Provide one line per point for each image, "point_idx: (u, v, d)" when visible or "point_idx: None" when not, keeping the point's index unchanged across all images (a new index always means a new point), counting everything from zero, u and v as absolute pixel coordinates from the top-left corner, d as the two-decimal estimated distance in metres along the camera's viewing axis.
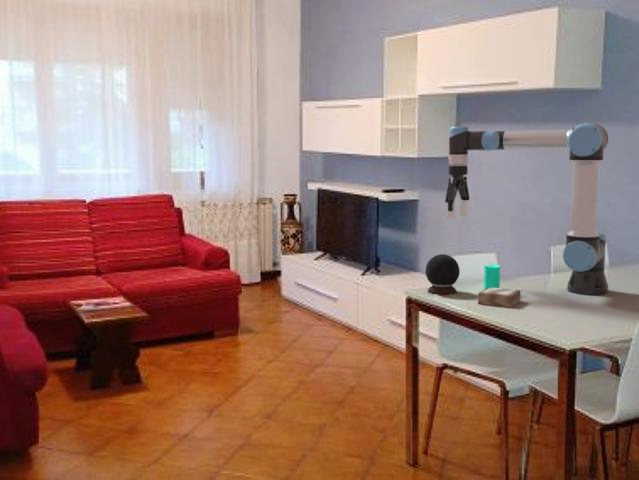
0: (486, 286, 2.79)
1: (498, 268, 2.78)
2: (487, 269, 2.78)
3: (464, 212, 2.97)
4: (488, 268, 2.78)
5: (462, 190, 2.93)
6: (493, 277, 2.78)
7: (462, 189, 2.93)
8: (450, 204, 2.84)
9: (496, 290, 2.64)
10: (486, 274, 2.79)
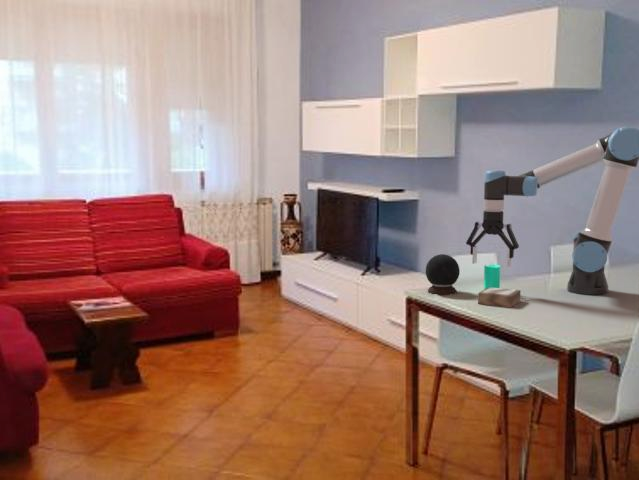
0: (486, 286, 2.79)
1: (498, 268, 2.78)
2: (487, 269, 2.78)
3: None
4: (488, 268, 2.78)
5: None
6: (493, 277, 2.78)
7: None
8: None
9: (496, 290, 2.64)
10: (486, 274, 2.79)
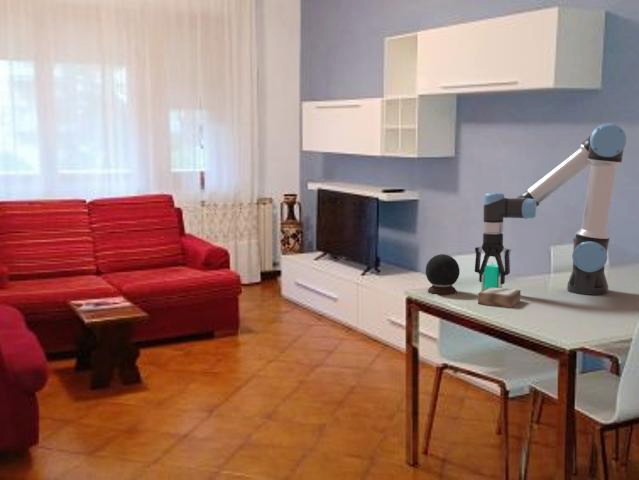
0: (486, 286, 2.79)
1: (498, 268, 2.78)
2: (487, 269, 2.78)
3: None
4: (488, 268, 2.78)
5: None
6: (493, 277, 2.78)
7: None
8: None
9: (496, 290, 2.64)
10: (486, 274, 2.79)
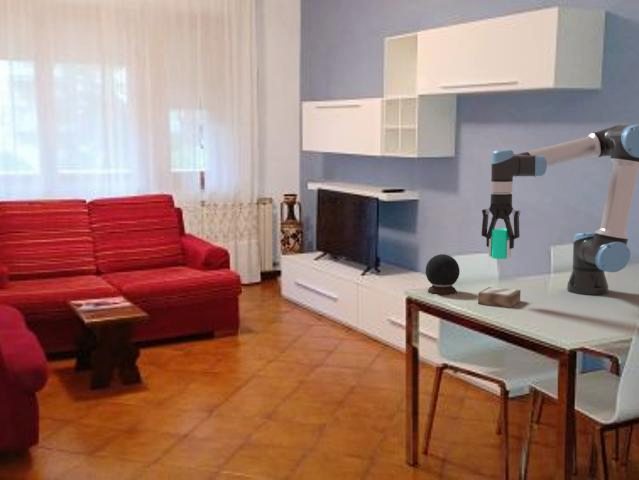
0: (494, 251, 2.60)
1: None
2: (495, 232, 2.59)
3: None
4: (496, 231, 2.58)
5: None
6: (501, 241, 2.58)
7: None
8: None
9: (496, 290, 2.64)
10: (494, 238, 2.60)
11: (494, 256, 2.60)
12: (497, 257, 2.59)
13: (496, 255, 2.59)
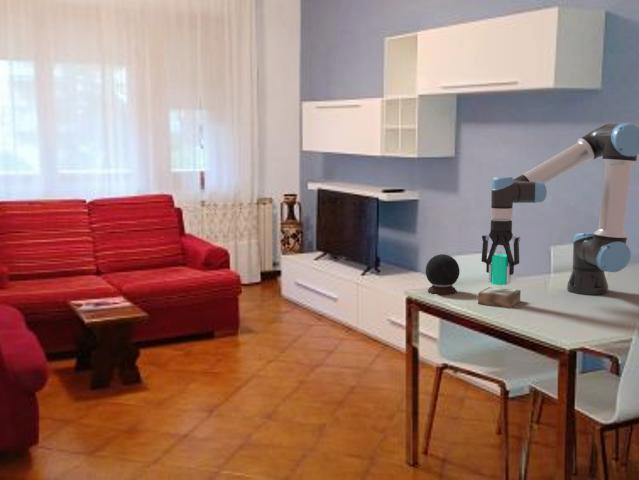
0: (494, 277, 2.61)
1: None
2: (495, 259, 2.60)
3: None
4: (496, 257, 2.59)
5: None
6: (501, 267, 2.59)
7: None
8: None
9: (496, 290, 2.64)
10: (494, 264, 2.60)
11: (494, 282, 2.61)
12: (497, 283, 2.60)
13: (496, 282, 2.60)
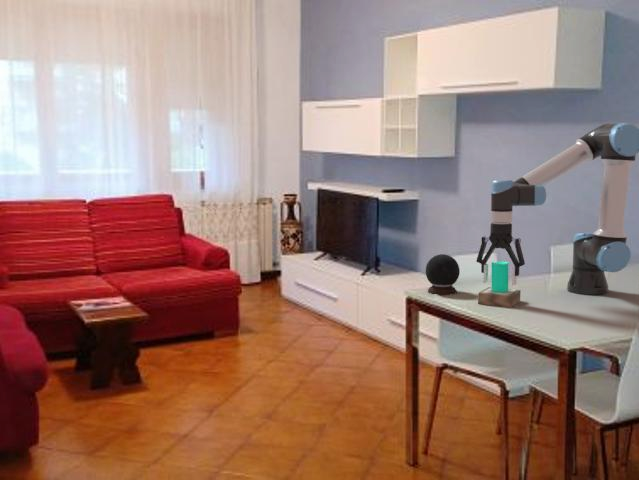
0: (494, 284, 2.61)
1: (506, 265, 2.60)
2: (494, 266, 2.60)
3: None
4: (495, 265, 2.60)
5: None
6: (501, 275, 2.59)
7: None
8: None
9: None
10: (493, 271, 2.61)
11: (494, 290, 2.61)
12: (497, 291, 2.60)
13: (496, 289, 2.61)
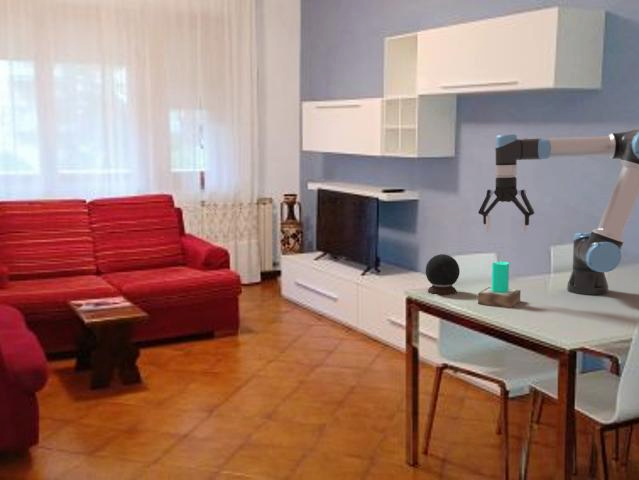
0: (494, 284, 2.61)
1: (507, 265, 2.60)
2: (495, 266, 2.60)
3: None
4: (496, 265, 2.60)
5: None
6: (502, 275, 2.59)
7: None
8: None
9: None
10: (494, 272, 2.61)
11: (494, 290, 2.61)
12: (497, 291, 2.60)
13: (496, 289, 2.61)
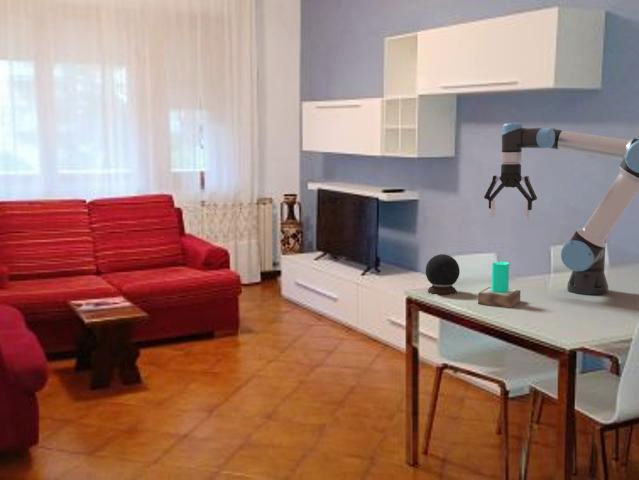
0: (494, 284, 2.61)
1: (507, 265, 2.60)
2: (495, 266, 2.60)
3: None
4: (496, 265, 2.60)
5: None
6: (502, 275, 2.59)
7: None
8: None
9: None
10: (494, 272, 2.61)
11: (494, 290, 2.61)
12: (497, 291, 2.60)
13: (496, 289, 2.61)
